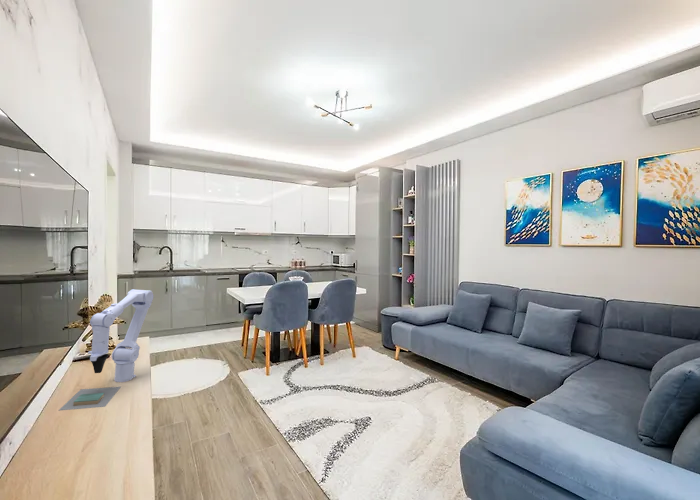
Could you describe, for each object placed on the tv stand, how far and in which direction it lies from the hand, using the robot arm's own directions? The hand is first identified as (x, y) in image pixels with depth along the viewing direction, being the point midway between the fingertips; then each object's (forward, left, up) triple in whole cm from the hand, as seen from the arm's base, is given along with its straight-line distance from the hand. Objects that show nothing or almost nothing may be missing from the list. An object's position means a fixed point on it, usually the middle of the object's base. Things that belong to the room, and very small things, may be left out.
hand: (98, 372), depth 141 cm
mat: (+4, 0, -9) cm, 10 cm away
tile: (+4, 0, -8) cm, 9 cm away
